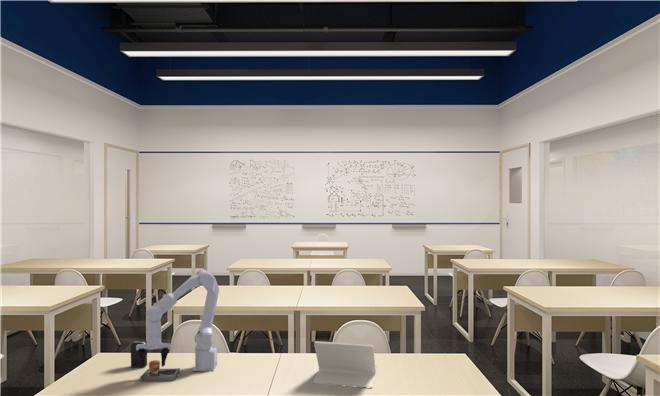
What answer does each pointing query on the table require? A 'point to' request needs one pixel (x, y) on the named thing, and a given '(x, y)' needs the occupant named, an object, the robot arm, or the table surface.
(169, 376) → the keyhole plate
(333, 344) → the tablet stand
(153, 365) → the peg
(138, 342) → the battery charger
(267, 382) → the table surface
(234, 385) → the table surface
